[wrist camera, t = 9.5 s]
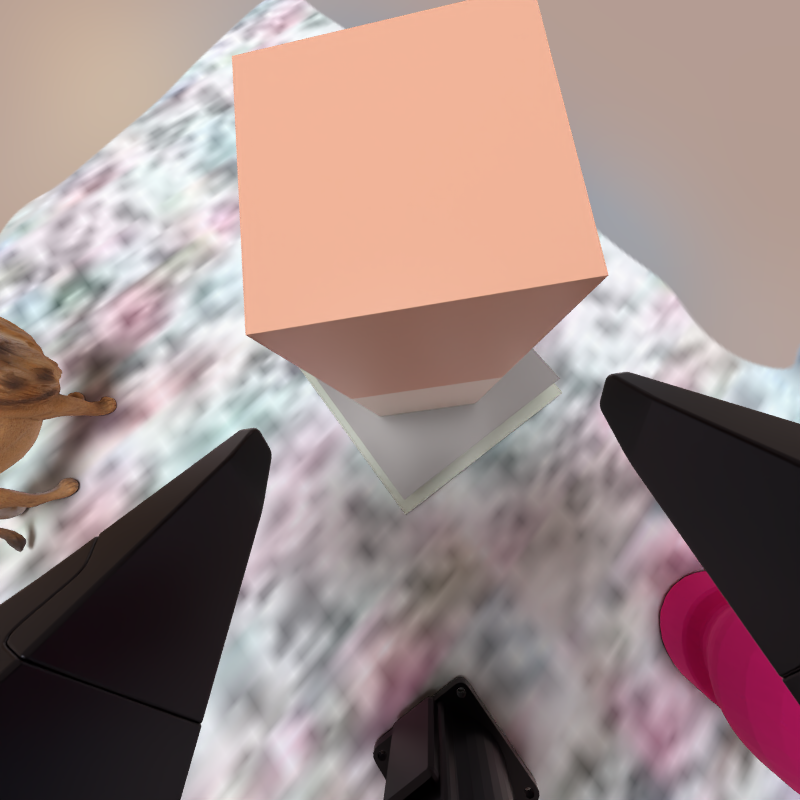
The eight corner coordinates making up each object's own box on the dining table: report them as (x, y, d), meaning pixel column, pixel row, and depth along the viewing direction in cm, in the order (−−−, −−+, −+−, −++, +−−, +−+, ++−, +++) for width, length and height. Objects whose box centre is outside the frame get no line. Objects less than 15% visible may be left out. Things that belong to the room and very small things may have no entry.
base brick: (557, 394, 19) (589, 381, 15) (406, 512, 19) (400, 529, 15) (437, 262, 22) (439, 220, 18) (301, 366, 21) (272, 348, 17)
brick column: (475, 403, 16) (607, 275, 4) (380, 416, 16) (245, 335, 4) (459, 312, 17) (533, -15, 5) (369, 327, 17) (231, 55, 5)
